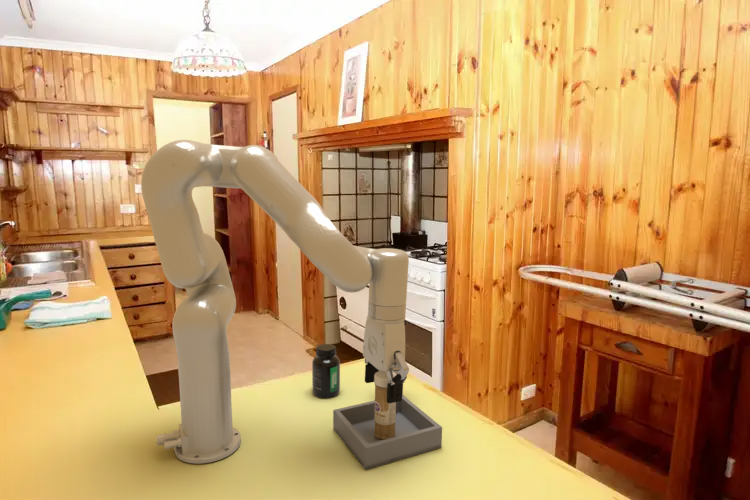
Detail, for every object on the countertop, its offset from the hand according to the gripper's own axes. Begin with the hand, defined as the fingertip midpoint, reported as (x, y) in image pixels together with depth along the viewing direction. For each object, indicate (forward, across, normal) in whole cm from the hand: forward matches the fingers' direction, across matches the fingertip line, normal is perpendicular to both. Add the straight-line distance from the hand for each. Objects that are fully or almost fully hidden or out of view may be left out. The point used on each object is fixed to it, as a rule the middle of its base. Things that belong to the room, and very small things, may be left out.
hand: (382, 391), depth 98 cm
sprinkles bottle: (+10, 0, +1) cm, 10 cm away
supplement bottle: (+11, -25, -2) cm, 27 cm away
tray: (+10, 0, +1) cm, 10 cm away
